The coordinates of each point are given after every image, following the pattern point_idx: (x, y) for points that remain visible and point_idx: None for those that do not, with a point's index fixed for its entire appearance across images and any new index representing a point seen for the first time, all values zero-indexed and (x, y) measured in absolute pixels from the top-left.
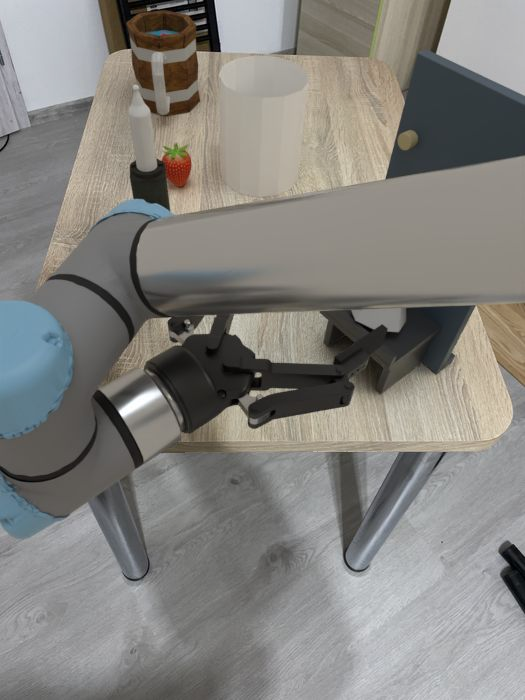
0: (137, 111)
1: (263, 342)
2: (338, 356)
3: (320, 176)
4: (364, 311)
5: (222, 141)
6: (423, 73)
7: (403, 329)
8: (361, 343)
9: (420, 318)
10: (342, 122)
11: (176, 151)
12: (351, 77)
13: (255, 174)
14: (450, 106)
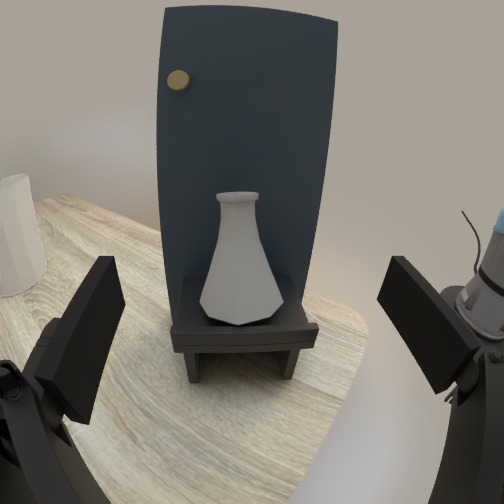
0: None
1: (133, 432)
2: (469, 343)
3: (62, 253)
4: (241, 305)
5: None
6: (177, 18)
7: None
8: (437, 296)
9: None
10: (59, 221)
11: None
12: (52, 203)
13: (13, 270)
14: (221, 32)
